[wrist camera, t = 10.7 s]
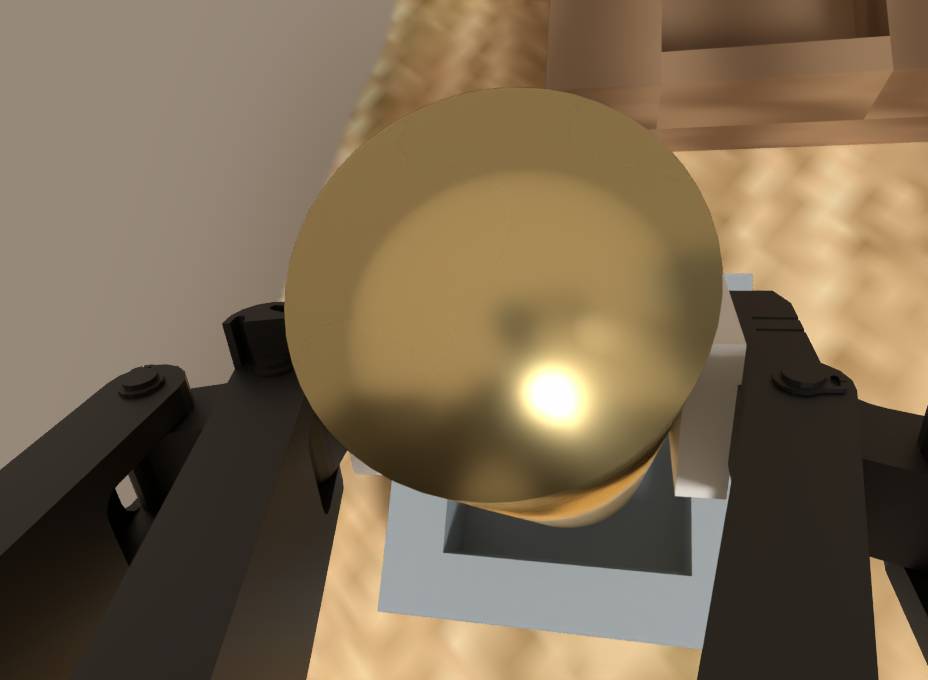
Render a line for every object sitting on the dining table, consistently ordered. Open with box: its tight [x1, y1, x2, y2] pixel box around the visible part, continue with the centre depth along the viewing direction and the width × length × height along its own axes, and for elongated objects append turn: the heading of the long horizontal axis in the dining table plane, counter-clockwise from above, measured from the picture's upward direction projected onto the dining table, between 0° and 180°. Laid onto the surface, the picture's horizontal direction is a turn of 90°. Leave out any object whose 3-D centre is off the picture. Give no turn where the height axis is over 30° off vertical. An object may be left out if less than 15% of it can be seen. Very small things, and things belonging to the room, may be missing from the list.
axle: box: [284, 87, 723, 528], centre depth 13 cm, size 5×5×13 cm
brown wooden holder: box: [545, 0, 928, 152], centre depth 24 cm, size 14×9×4 cm, turn 86°
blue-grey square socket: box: [378, 274, 753, 649], centre depth 21 cm, size 10×10×4 cm
